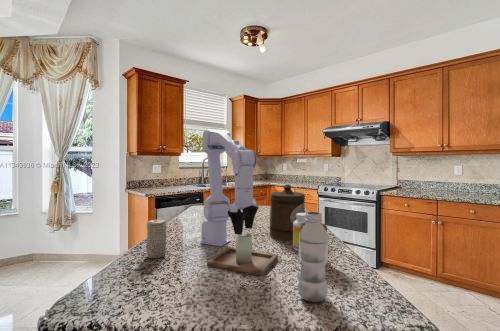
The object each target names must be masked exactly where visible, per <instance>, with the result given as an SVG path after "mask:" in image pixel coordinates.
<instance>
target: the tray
mask: <svg viewBox="0 0 500 331" xmlns="http://www.w3.org/2000/svg"><path fill="white" fill-rule="evenodd" d="M278 260H279V254H275V253H270V252H269V253H267V252H263V251H262V252H261V251H255V250H252V261H251V262H250V263H247V264H240V263H237V262H236V247H230V246H229V247H227V248H226V249H224V250H223V251H221V252H219V253H218V254H216V255H214V256H212V257H211V258H209V259H208V260H207V261H206V267H212V268H217V269H221V270H227V271H231V272H237V273H243V274H246V275H251V276H252V275H253V276H257V277H262V278H263V276H265V274H266V273H267V272H268V271H269V270H270V269H271V268H272V267H273V265H275V263H276V262H277V261H278Z"/></svg>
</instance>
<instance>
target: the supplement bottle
mask: <svg viewBox="0 0 500 331" xmlns="http://www.w3.org/2000/svg"><path fill="white" fill-rule="evenodd" d="M305 213H306V212H305ZM305 213H297V214H296V218H297V219H296V220H295V221H294V223H293V240H292V248H293V250H294V251H296V252H299V233H300V225H301V224H302V223H305V222H306V221H305Z"/></svg>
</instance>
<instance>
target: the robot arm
mask: <svg viewBox="0 0 500 331" xmlns="http://www.w3.org/2000/svg"><path fill="white" fill-rule="evenodd" d="M201 140H202V149H203V152H204V153H205V154H206V155H207V164H208V167H207V168H208V177H209V178H208V179H209V190H210V191H209V192H210V193H209V194H210V195H209V196H208V197H206V198H205V200H204V201H203V216H204V218H205V219H204V220H203V221H202V223H201V227H200V228H201V241H200V244H203V245H210V246H211V245H212V246H214V247H215V246H216V247H222V246H225V245H226V244H228V243H230V242H231V241H232V240H231V239H230V238H228V236H227V235H228V232H227V230H228V224H227V223H228V222H227V221H229V218H230V221H231V224H232V227H233V232H234V235H237V234H238V235H241V234H242V233H244V232H243V230H244V228H245V229H251V230H252V229H253V225H254V221H255V217H256V215H257V212H258V211H259V206H258V205H257V200H256V199H255V198H254V168H255V167H256V165H257V160H258V157H257V153H256V152H255V150H254V149H247V148H246V146H245V145H243V144H242V143H241V142H240V140H239V139H232V137H231V132H230V131H229V130H220V129H219V130H217V129H208V128H207V129H204V131H203V132H202V137H201ZM223 153H226V155H228V156H229V158H230V160H231V165H232V172H233V174H234V202H233V203H232V204H231V203H230V201H231V200H230V198H229V197H228V196H226V195H225V194H224V190H223V178H222V167H221V155H222V154H223Z"/></svg>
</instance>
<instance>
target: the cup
mask: <svg viewBox="0 0 500 331" xmlns="http://www.w3.org/2000/svg"><path fill="white" fill-rule="evenodd" d="M252 245H253V235H252V234H251V233H248V232H247V233H246V232H242V234H241V235H238V234H235V248H236V262H237V263H240V264H247V263H250V262H251V261H252V251H253V250H252V249H253V246H252Z"/></svg>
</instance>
